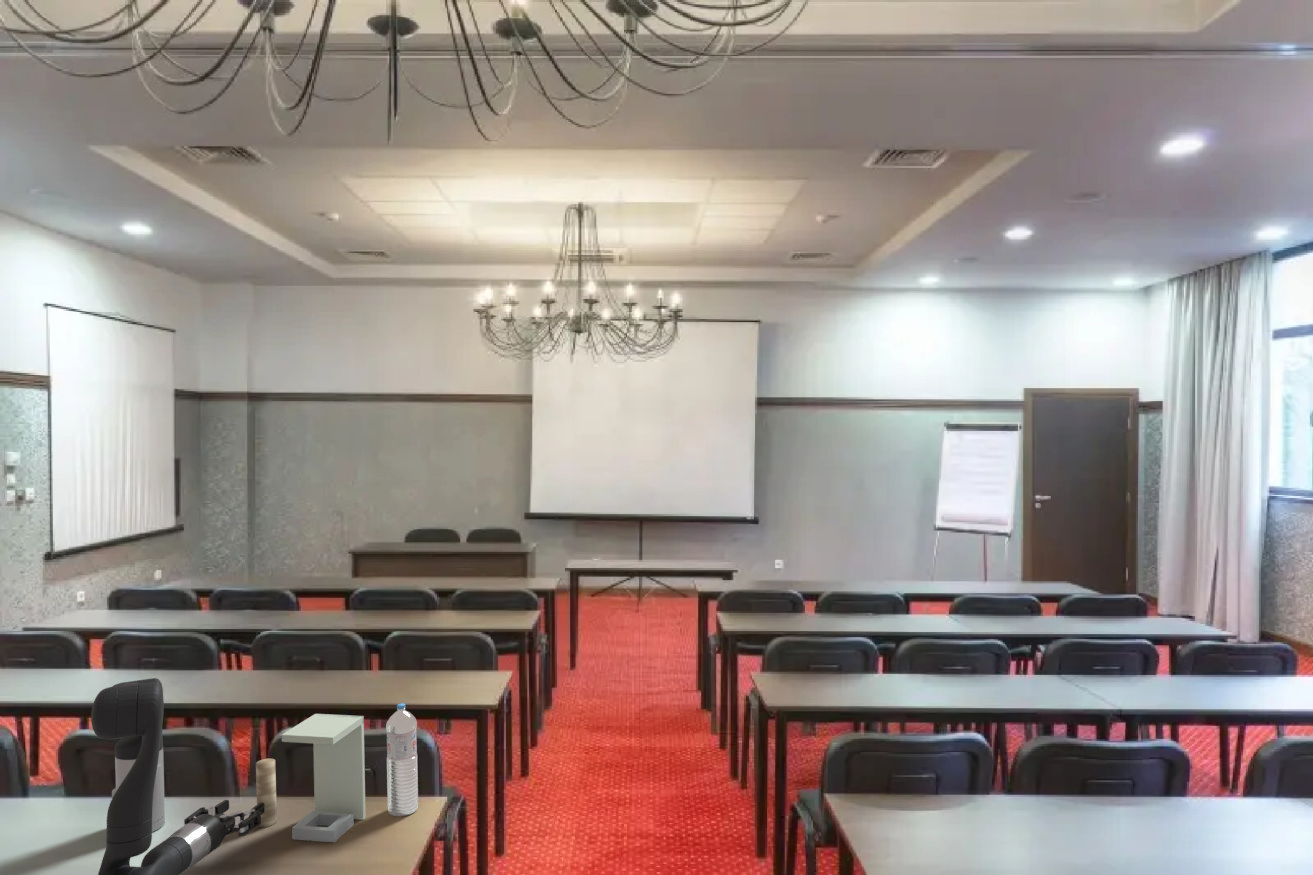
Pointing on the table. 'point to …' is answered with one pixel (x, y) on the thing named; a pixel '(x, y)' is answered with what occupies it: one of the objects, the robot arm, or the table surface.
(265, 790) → the peg
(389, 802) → the water bottle
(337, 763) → the socket stand
